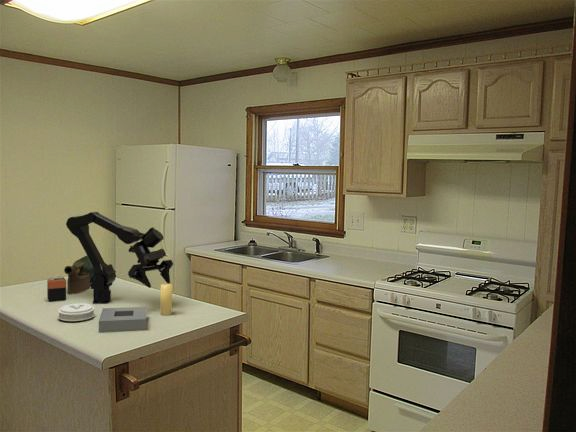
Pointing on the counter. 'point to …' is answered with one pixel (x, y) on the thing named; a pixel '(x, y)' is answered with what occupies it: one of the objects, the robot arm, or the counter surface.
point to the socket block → (122, 319)
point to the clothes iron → (77, 279)
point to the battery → (56, 289)
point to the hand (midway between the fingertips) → (160, 285)
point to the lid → (76, 312)
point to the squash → (86, 267)
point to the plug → (166, 299)
